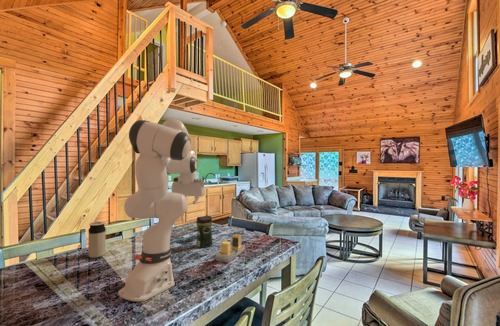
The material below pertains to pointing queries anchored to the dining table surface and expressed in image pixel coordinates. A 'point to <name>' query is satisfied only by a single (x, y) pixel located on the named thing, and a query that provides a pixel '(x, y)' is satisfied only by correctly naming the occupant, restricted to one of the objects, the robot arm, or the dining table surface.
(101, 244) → the travel mug
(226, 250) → the yellow block grey top
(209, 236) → the coffee jar
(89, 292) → the dining table surface
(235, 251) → the beige base with post
